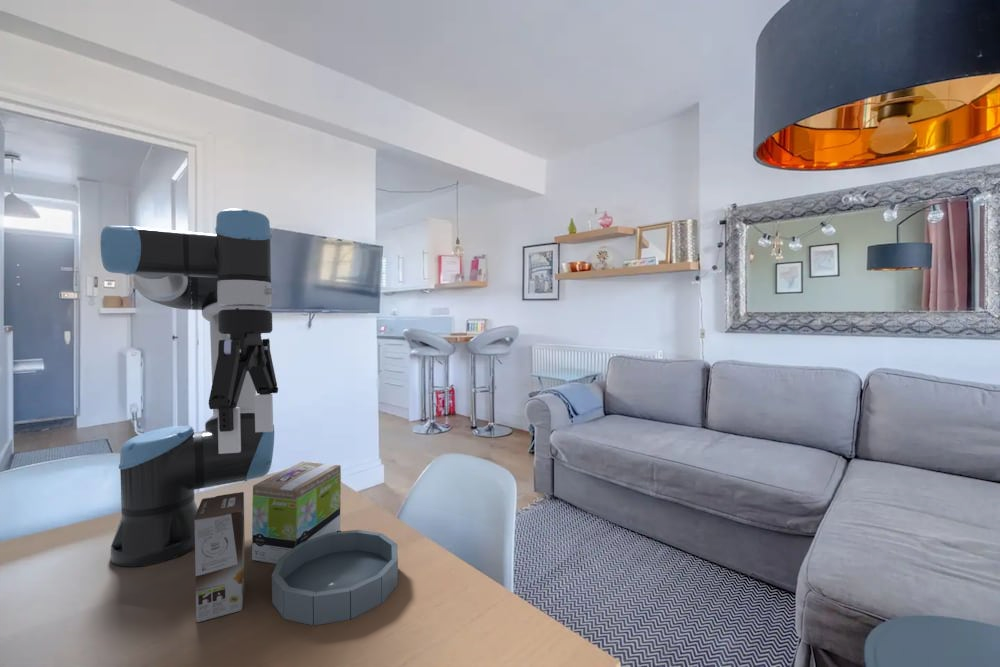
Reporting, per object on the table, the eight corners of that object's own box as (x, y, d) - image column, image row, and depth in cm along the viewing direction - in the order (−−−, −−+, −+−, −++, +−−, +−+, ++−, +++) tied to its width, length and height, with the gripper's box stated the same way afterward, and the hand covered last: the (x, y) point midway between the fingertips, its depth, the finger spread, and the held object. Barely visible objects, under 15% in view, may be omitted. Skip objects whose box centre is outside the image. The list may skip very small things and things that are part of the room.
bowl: (288, 560, 84) (287, 537, 84) (396, 547, 89) (395, 525, 89) (259, 634, 65) (259, 604, 65) (399, 611, 70) (399, 583, 70)
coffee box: (243, 611, 70) (242, 511, 69) (195, 624, 67) (192, 520, 66) (245, 580, 78) (244, 490, 77) (202, 590, 75) (200, 497, 74)
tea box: (297, 568, 82) (296, 489, 81) (250, 561, 84) (249, 485, 83) (342, 529, 97) (341, 463, 96) (301, 525, 99) (300, 459, 98)
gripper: (237, 304, 59) (241, 462, 59) (294, 312, 84) (296, 423, 84) (175, 304, 58) (179, 466, 58) (251, 312, 83) (254, 425, 83)
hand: (248, 441), depth 71 cm, fingers open, 13 cm apart
